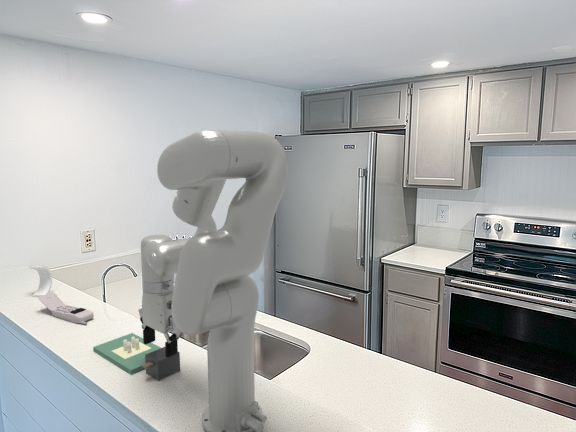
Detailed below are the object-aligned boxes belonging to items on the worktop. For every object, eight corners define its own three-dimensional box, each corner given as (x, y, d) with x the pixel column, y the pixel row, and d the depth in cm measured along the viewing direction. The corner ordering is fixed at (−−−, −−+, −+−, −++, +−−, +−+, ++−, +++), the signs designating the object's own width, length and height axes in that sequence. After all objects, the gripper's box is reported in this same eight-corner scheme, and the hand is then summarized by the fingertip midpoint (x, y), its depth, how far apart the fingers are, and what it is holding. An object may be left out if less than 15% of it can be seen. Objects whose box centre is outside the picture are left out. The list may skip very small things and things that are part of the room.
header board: (171, 357, 116) (170, 342, 115) (131, 374, 107) (130, 359, 106) (132, 336, 129) (131, 323, 128) (93, 350, 120) (92, 337, 119)
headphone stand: (32, 297, 163) (29, 266, 162) (42, 291, 169) (39, 262, 168) (43, 297, 163) (41, 267, 161) (53, 292, 169) (50, 263, 167)
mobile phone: (52, 291, 153) (98, 303, 140) (54, 307, 154) (99, 320, 141) (35, 297, 147) (81, 309, 135) (37, 313, 148) (83, 327, 136)
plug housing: (180, 370, 109) (179, 352, 108) (151, 384, 103) (150, 365, 102) (167, 363, 113) (166, 345, 112) (138, 376, 106) (137, 357, 105)
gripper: (192, 289, 102) (193, 354, 105) (151, 273, 113) (153, 333, 116) (165, 298, 97) (167, 366, 100) (125, 280, 107) (128, 342, 111)
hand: (160, 348), depth 108 cm, fingers open, 9 cm apart
